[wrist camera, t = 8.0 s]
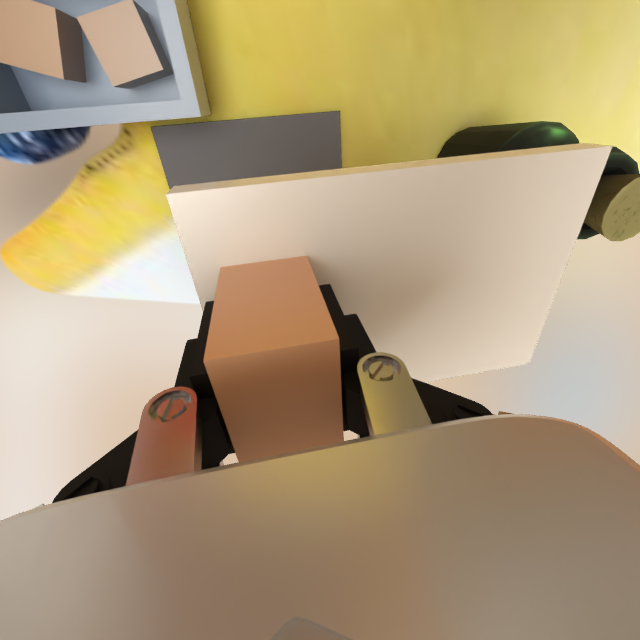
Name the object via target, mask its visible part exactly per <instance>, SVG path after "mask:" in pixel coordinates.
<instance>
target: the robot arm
mask: <svg viewBox="0 0 640 640" xmlns="http://www.w3.org/2000/svg"><path fill="white" fill-rule="evenodd" d="M319 288H320V291H321V293H322V296H323V298H324V301H325V303H326V306H327V309H328V311H329V314H330V316H331V319H332V321H333V324H334V327H335V329H336V332H337V334H338V337H339V345H340V368H341V391H342V414H343V431H347V430H350V431H353V432H354V433H356V434H358V439H353V440H348V441H343V442H338V443H333V444H328V445H323V446H318V447H313V448H308V449H303V450H298V451H293V452H288V453H283V454H278V455H273V456H268V457H263V458H258V459H253V460H248V461H243V462H239V463H234V464H229V465H224V464H223V459H224V458H225V457H226V456H227V455H228V454H231V453H235V450H234V447H233V444H232V441H231V439H230V436H229V433H228V430H227V427H226V424H225V421H224V419H223V416H222V413H221V410H220V407H219V404H218V402H217V399H216V396H215V393H214V390H213V387H212V384H211V382H210V379H209V376H208V373H207V370H206V367H205V365H204V362H203V360H204V354H205V349H206V343H207V338H208V332H209V327H210V321H211V316H212V310H213V305H214V301H207V302H206V303H205V307H204V312H203V316H202V320H201V325H200V330H199V334H198V338H197V339H190V340H188V341H187V343H186V346H185V349H184V353H183V357H182V361H181V364H180V368H179V372H178V375H177V379H176V383H175V387H173V388H170V389H167V390H164V391H162V392H160V393H158V394H157V395H155V396H154V397H153V398H152V399H151V400H149V402H148V403H147V404H146V405H145V407H144V409H143V412H142V416H141V420H140V425H139V429H138V430H137V431H136V432H135V433H133V434H132V435H131V436H129V437H128V438H127V439H126V440H124V441H123V442H121V443H120V444H119V445H118V446H116V447H115V448H114V449H112V450H111V451H110V452H108V453H107V454H106V455H105V456H103V457H102V458H101V459H99V460H98V461H97V462H95V463H94V464H93V465H91V466H90V467H89V468H87V469H86V470H85V471H83V472H82V473H81V474H79V475H78V476H77V477H75V478H74V479H73V480H71V481H70V482H69V483H68V484H67V485H66V486H65V487H64V488H62V490H61V491H60V492H59V493H58V495H57V496H56V497H55V498H54V500H53V503H52V504H48V505H44V504H42V505H40V506H38V507H36V508H34V509H32V510H29V511H26V512H22V513H19V514H17V515H14V516H12V517H9V518H6V519H4V520H1V521H0V640H640V465H639V464H637V463H636V462H635V461H634V460H632V459H631V458H630V457H628V456H627V455H626V454H625V453H624V452H622V451H621V450H620V449H619V448H617V447H616V446H615V445H613V444H612V443H611V442H609V441H607V440H606V439H605V438H603V437H602V436H600V435H599V434H597V433H595V432H593V431H591V430H590V429H588V428H586V427H583V426H581V425H579V424H576V423H573V422H569V421H566V420H562V419H557V418H552V417H545V416H536V415H523V414H511V413H506V412H500V411H499V413H498V415H493V414H492V413H491V412H490V411H489V410H488V409H487V408H485V407H484V406H482V405H481V404H479V403H476V402H475V401H472V400H469V399H467V398H464V397H462V396H459V395H456V394H454V393H451V392H448V391H446V390H443V389H440V388H438V387H435V386H432V385H429V384H427V383H424V382H422V381H419V380H416V379H414V378H411V376H410V374H409V372H408V370H407V368H406V365H405V364H404V363H403V361H402V360H401V359H399V358H398V357H397V356H394V355H392V354H389V353H384V352H376V350H375V348H374V346H373V344H372V342H371V340H370V339H369V337H368V335H367V333H366V331H365V329H364V327H363V325H362V323H361V321H360V319H359V317H358V316H357V314H349V315H344V313H343V311H342V309H341V307H340V305H339V302H338V300H337V298H336V296H335V294H334V292H333V289H332V287H331V285H330V284H324V285H319Z"/></svg>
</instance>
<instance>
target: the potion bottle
mask: <svg viewBox="0 0 640 640" xmlns="http://www.w3.org/2000/svg"><path fill="white" fill-rule="evenodd" d="M578 143H579V140H578V139H577V137H576V136H575V134H574V133H573V132H572V131H570V130H569V129H568V128H567V127H566V126H564V125H563V124H562V123H558V122H544V121H540V122H528V123H516V124H504V125H492V126H480V127H469V128H467V129H465V130H462V131H460V132H457V133H456V134H455V135H454V136H453V137H452V138H451V139H450V140H449V141H447V142H446V144H445V146H444V147H443V149H442V151H441V153H440V154H439V156H438V158H445V157H455V156H464V155H474V154H483V153H493V152H502V151H512V150H521V149H531V148H540V147H550V146H559V145H569V144H578ZM639 232H640V174H639V170H638V165H637V162H636V161H634V160H633V159H632V158H631V157H630V156H629V155H627V154H626V153H624V152H623V151H621V150H620V149H618V148H617V147H612V149H611V152H610V154H609V157H608V159H607V162H606V165H605V167H604V170H603V172H602V175H601V178H600V180H599V183H598V185H597V188H596V191H595V193H594V196H593V198H592V201H591V204H590V206H589V209H588V211H587V214H586V217H585V219H584V222H583V224H582V227H581V230H580V232H579V235H578V237H577V239H587V238H589V237H592V236H595V235H597V234H601V235H603V236H604V237H606V238H607V239H609V240H611V241H623V240H625V239H628V238H631V237H633V236H635V235H636V234H637V233H639Z"/></svg>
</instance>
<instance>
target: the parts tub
mask: <svg viewBox="0 0 640 640" xmlns="http://www.w3.org/2000/svg"><path fill="white" fill-rule="evenodd" d="M207 115H211V111H210V106H209V101H208V97H207V92H206V87H205V83H204V78H203V73H202V69H201V64H200V59H199V55H198V50H197V45H196V41H195V36H194V31H193V27H192V22H191V17H190V13H189V8H188V3H187V0H0V133H11V132H23V131H35V130H47V129H59V128H71V127H83V126H95V125H107V124H119V123H131V122H143V121H155V120H168V119H180V118H192V117H202V116H207Z"/></svg>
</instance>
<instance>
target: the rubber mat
mask: <svg viewBox="0 0 640 640" xmlns="http://www.w3.org/2000/svg"><path fill="white" fill-rule="evenodd" d="M151 130H152V133H153V136H154V140H155V143H156V146H157V149H158V153H159V156H160V159H161V162H162V165H163V169H164V172H165V175H166V178H167V182H168V185H169V188H170V189H171V188H172V187H173V186H180V185H189V184H199V183H208V182H218V181H227V180H236V179H246V178H255V177H265V176H274V175H284V174H293V173H303V172H312V171H322V170H331V169H341V133H340V111H331V112H319V113H307V114H296V115H284V116H272V117H260V118H249V119H237V120H225V121H213V122H201V123H190V124H178V125H166V126H154V127H151Z"/></svg>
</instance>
